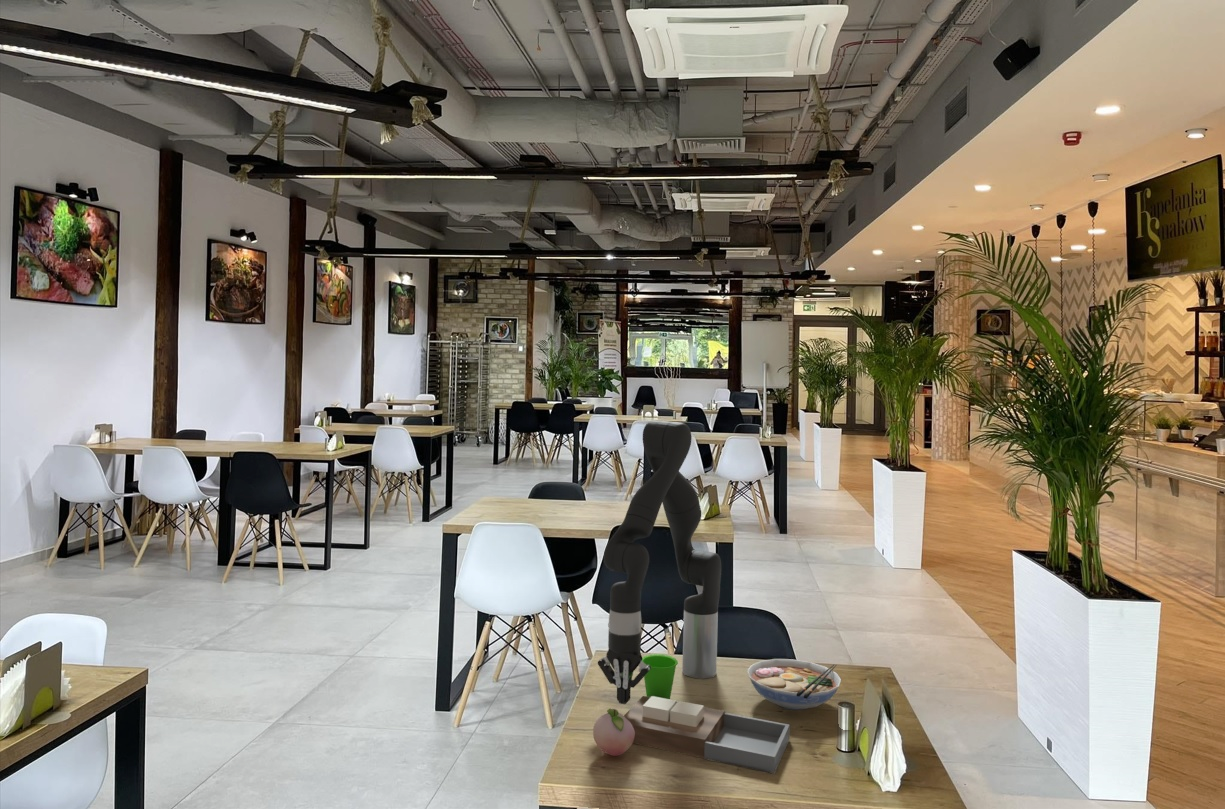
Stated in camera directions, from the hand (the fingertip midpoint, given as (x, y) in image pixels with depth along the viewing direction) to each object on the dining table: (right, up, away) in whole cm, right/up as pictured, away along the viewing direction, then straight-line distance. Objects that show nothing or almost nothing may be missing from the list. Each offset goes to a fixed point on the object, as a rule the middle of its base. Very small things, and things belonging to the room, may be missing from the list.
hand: (623, 702), depth 184 cm
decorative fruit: (-3, -6, -16) cm, 17 cm away
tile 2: (+14, -2, -6) cm, 15 cm away
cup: (+9, -5, +11) cm, 15 cm away
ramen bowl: (+42, -6, +13) cm, 45 cm away
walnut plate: (+11, -5, -4) cm, 13 cm away
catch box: (+27, -6, -11) cm, 29 cm away
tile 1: (+8, -1, -3) cm, 9 cm away
